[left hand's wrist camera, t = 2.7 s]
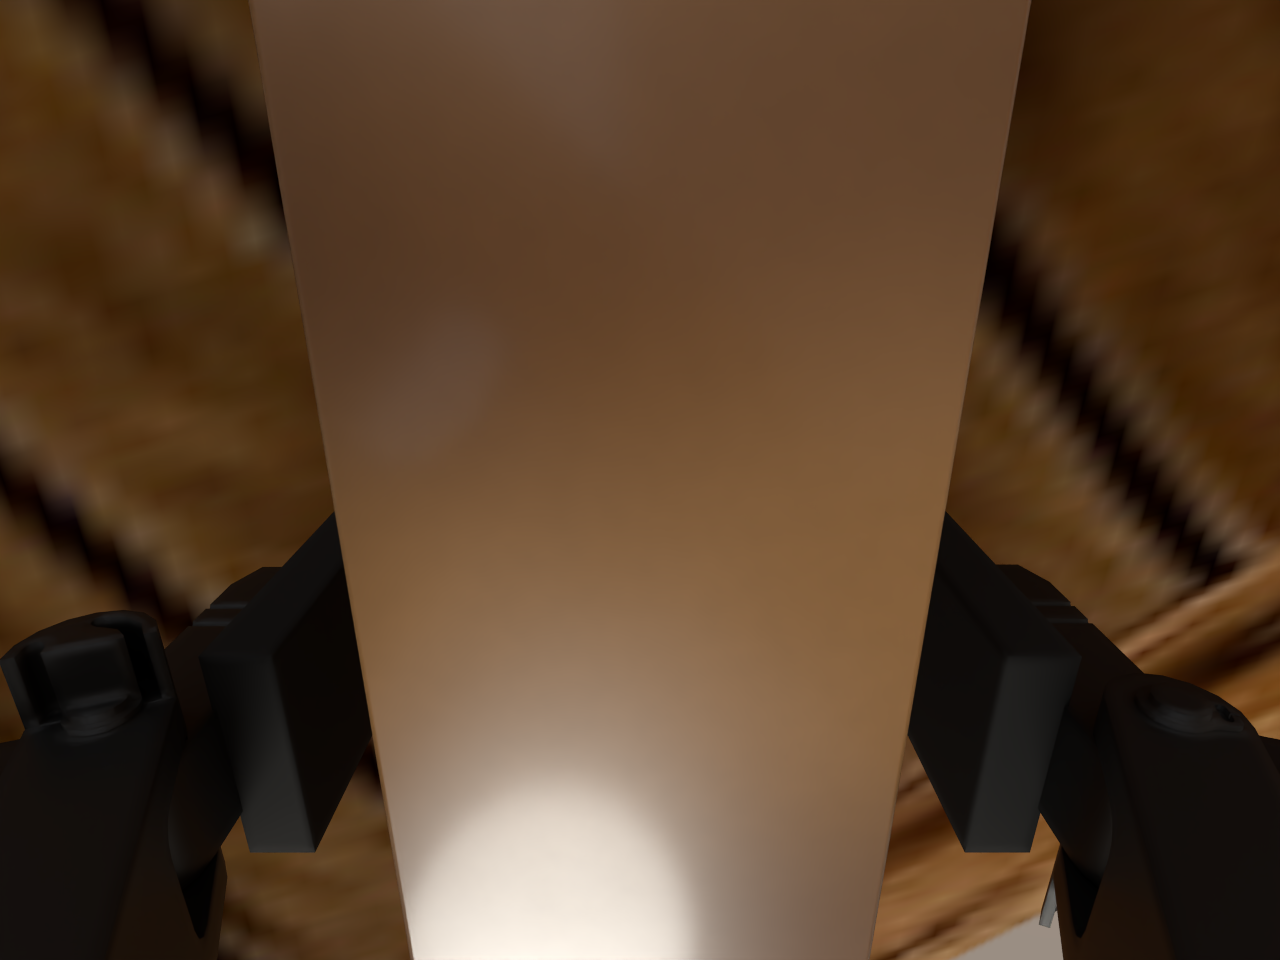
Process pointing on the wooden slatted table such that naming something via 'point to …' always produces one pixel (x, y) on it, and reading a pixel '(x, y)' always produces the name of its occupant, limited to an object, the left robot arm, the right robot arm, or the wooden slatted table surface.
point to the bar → (639, 438)
